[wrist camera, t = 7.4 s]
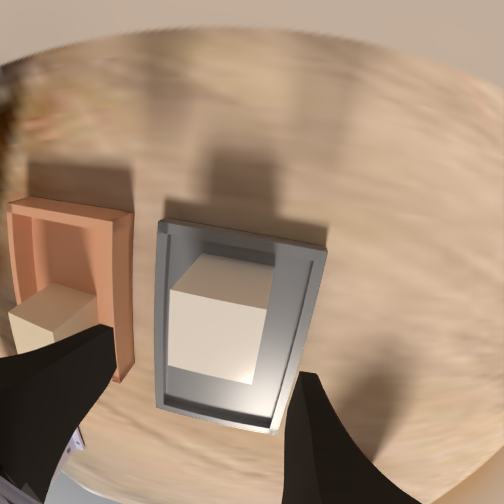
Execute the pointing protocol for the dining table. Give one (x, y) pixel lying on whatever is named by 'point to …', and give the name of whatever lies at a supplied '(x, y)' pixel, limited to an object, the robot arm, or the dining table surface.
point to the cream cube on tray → (219, 317)
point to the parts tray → (274, 331)
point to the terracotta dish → (77, 260)
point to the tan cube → (52, 316)
